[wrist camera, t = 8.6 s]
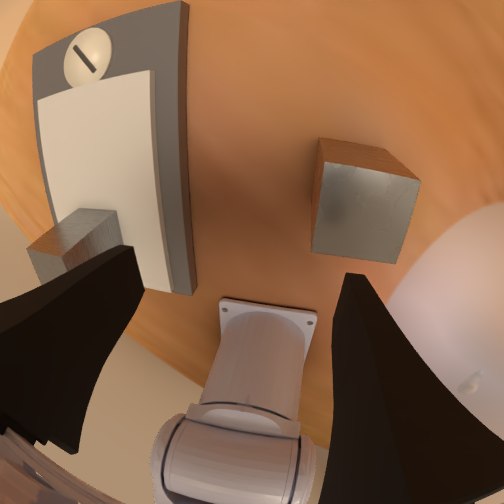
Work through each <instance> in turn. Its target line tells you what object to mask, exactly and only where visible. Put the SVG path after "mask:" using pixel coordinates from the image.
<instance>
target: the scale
mask: <svg viewBox="0 0 504 504" xmlns="http://www.w3.org/2000/svg"><path fill="white" fill-rule="evenodd" d="M188 16H189V5H188V4H186V3H185V2H183V1H175V2H170V3H166V4H161V5H157V6H153V7H149V8H145V9H141V10H138V11H134V12H131V13H127V14H124V15H121V16H118V17H115V18H112V19H109V20H106V21H104V22H101V23H98V24H96V25H93V26H91V27H88V28H86V29H84V30H81V31H79V32H77V33H74V34H72V35H70V36H68V37H66V38H64V39H62V40H60V41H58V42H56V43H54V44H52V45H50V46H48V47H46V48H44V49H42V50H41V51H39V52H37V53H35V54H34V55H33V67H32V83H33V107H34V120H35V130H36V138H37V146H38V152H39V159H40V164H41V170H42V175H43V180H44V185H45V189H46V194H47V198H48V202H49V206H50V210H51V214H52V217H53V221H54V224H55V225H56V224H58V223H59V222H60V221H62V220H63V219H64V218H66V217H67V216H68V215H70V214H71V213H72V212H74V211H75V210H77V209H78V208H90V209H104V210H117V215H118V220H119V225H120V230H121V234H122V239H123V243H124V245H128V246H134V250H135V255H136V259H137V263H138V266H139V270H140V274H141V278H142V281H143V285H144V287H146V288H150V289H155V290H160V291H164V292H169V293H172V292H173V293H178V294H183V295H189V296H193V294H194V292H195V290H196V288H197V281H196V271H195V261H194V251H193V239H192V227H191V214H190V199H189V182H188V160H187V127H186V65H187V35H188Z"/></svg>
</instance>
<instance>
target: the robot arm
mask: <svg viewBox="0 0 504 504" xmlns="http://www.w3.org/2000/svg"><path fill="white" fill-rule="evenodd" d="M144 291H145V289H144V285H143V281H142V278H141V274H140V270H139V266H138V263H137V259H136V255H135V250H134V246H128V245H121V244H120V245H118V246H115V247H113V248H111V249H108V250H106V251H104V252H102V253H100V254H99V255H97V256H95V257H93V258H91V259H89V260H87V261H86V262H84V263H82V264H80V265H78V266H77V267H75V268H73V269H71V270H69V271H68V272H66V273H64V274H62V275H60V276H58V277H56V278H55V279H53V280H51V281H49V282H47V283H45V284H43V285H41V286H39V287H37V288H35V289H33V290H31V291H29V292H27V293H24V294H22V295H20V296H18V297H15V298H12V299H10V300H7V301H5V302H2V303H0V504H78V502H80V503H81V504H124V503H122V502H120V501H118V500H116V499H114V498H112V497H110V496H108V495H106V494H104V493H102V492H101V491H99V490H97V489H95V488H93V487H92V486H90V485H88V484H87V483H85V482H83V481H81V480H80V479H78V478H77V477H75V476H74V475H72V474H71V473H69V472H67V471H66V470H65V469H63V468H62V467H60V466H59V465H57V464H56V463H55V462H53V461H52V460H50V459H49V458H48V457H46V456H45V455H44V454H42V453H41V452H40V451H39V450H37V449H36V448H35V447H34V444H35V442H36V440H37V441H38V442H40V443H41V444H42V445H46V443H47V441H48V440H49V441H50V442H52V443H53V444H55V445H57V446H58V447H60V448H61V449H62V450H64V451H66V452H67V453H69V454H71V455H72V454H76V453H78V450H79V443H80V437H81V431H82V426H83V422H84V418H85V414H86V410H87V407H88V404H89V401H90V398H91V395H92V392H93V389H94V386H95V384H96V382H97V379H98V377H99V374H100V372H101V370H102V367H103V365H104V364H105V362H106V360H107V358H108V356H109V354H110V353H111V351H112V349H113V348H114V346H115V344H116V343H117V341H118V339H119V338H120V336H121V335H122V333H123V331H124V330H125V328H126V327H127V325H128V323H129V322H130V320H131V318H132V317H133V315H134V313H135V311H136V309H137V307H138V305H139V303H140V301H141V298H142V296H143V294H144ZM225 308H227V309H225ZM219 312H220V328H221V342H220V345H219V348H218V350H217V353H216V356H215V359H214V362H213V364H212V367H211V370H210V373H209V376H208V379H207V381H206V384H205V387H204V390H203V393H202V395H201V399H200V401H199V404H198V405H197V404H190V406H189V408H188V411H187V414H182V413H181V414H177V415H175V416H174V417H172V418H171V419H169V420H168V421H167V422H166V423H165V424H164V425H163V426H162V427H161V429H160V431H159V432H158V434H157V436H156V439H155V441H154V444H153V447H152V451H151V456H150V472H151V475H152V479H153V485H154V498H155V501H154V504H307V502H308V499H309V496H310V493H311V489H312V485H313V480H314V473H315V465H316V448H315V444H314V443H313V442H312V441H311V440H310V437H309V436H307V435H300V436H299V432H300V424H301V423H300V422H297V418H298V410H299V402H300V393H301V384H302V374H303V365H304V362H305V359H306V355H307V352H308V349H309V346H310V343H311V339H312V336H313V333H314V329H315V326H316V322H317V313H315V312H312V311H305V310H297V309H290V308H283V307H276V306H269V305H263V304H256V303H250V302H244V301H238V300H232V299H226V298H223V299H221V300H220V302H219ZM309 321H312V322H309ZM331 348H332V369H333V398H334V411H333V425H332V434H331V442H330V448H329V455H328V461H327V467H326V472H325V477H324V482H323V486H322V491H321V495H320V499H319V503H318V504H475V502H476V501H479V500H481V499H483V498H486V497H488V496H490V495H492V494H494V493H496V492H498V491H500V490H502V489H504V441H503V440H502V439H501V438H499V437H498V436H497V435H496V434H494V433H493V432H492V431H490V430H489V429H488V428H487V427H486V426H485V425H483V424H482V423H481V422H480V421H479V420H478V419H477V418H476V417H475V416H474V415H473V414H471V413H470V412H469V411H468V410H467V409H466V408H465V407H464V406H463V405H462V404H461V403H460V402H459V401H458V400H457V398H456V397H454V395H453V394H452V393H451V392H450V391H449V390H448V389H447V388H446V387H445V386H444V385H443V384H442V382H441V381H440V380H439V379H438V378H437V377H436V375H435V374H434V373H433V372H432V371H431V369H430V368H429V367H428V366H427V364H426V363H425V362H424V361H423V359H422V358H421V357H420V356H419V354H418V353H417V352H416V350H415V349H414V348H413V346H412V345H411V344H410V342H409V341H408V339H407V338H406V337H405V335H404V334H403V332H402V331H401V330H400V328H399V327H398V325H397V324H396V322H395V321H394V319H393V318H392V316H391V315H390V314H389V312H388V310H387V309H386V307H385V305H384V304H383V302H382V301H381V299H380V298H379V296H378V295H377V293H376V291H375V290H374V288H373V287H372V285H371V284H370V282H369V281H368V279H367V278H366V276H365V275H363V274H354V273H346V274H345V278H344V281H343V285H342V289H341V293H340V296H339V300H338V303H337V307H336V310H335V314H334V317H333V327H332V346H331ZM35 471H36V472H38V473H39V474H40V475H41V476H42V477H41V476H39V475H37V474H36V472H35ZM43 477H44V478H43ZM502 504H504V503H502Z"/></svg>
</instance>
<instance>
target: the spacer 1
mask: <svg viewBox="0 0 504 504" xmlns="http://www.w3.org/2000/svg"><path fill="white" fill-rule="evenodd" d="M120 244H121V245H124V243H123V239H122V234H121V230H120V225H119V220H118V215H117V210H104V209H90V208H78V209H77V210H75V211H74V212H72V213H71V214H70V215H68V216H67V217H66V218H64V219H63V220H62V221H60V222H59V223H58V224H56V225H55V226H54V227H52V228H51V229H50V230H49V231H47V232H46V233H45V234H43V235H42V236H41V237H40V238H38V239H37V240H36V241H35V242H34V243H32V244H31V245H30V246H29V247H28V248H27V251H28V254H29V256H30V259H31V261H32V264H33V266H34V269H35V271H36V273H37V275H38V278H39V280H40V282H41V284H42V285H43V284H45V283H47V282H49V281H51V280H53V279H55V278H56V277H58V276H60V275H62V274H64V273H66V272H68V271H69V270H71V269H73V268H75V267H77V266H78V265H80V264H82V263H84V262H86V261H87V260H89V259H91V258H93V257H95V256H97V255H99V254H100V253H102V252H104V251H106V250H108V249H111V248H113V247H115V246H118V245H120Z"/></svg>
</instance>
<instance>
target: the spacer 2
mask: <svg viewBox="0 0 504 504" xmlns="http://www.w3.org/2000/svg"><path fill="white" fill-rule="evenodd" d="M420 183H421V180H420V179H418V178H417V177H416V176H415V175H414V174H413V173H412V172H411V171H410V170H409V169H408V168H406V167H405V166H404V165H403V164H402V163H401V162H400V161H398V160H397V159H396V158H395V157H394V156H392V155H391V154H390V153H389V152H388V151H386V150H385V149H381V148H377V147H372V146H367V145H362V144H357V143H351V142H345V141H339V140H333V139H327V138H320V137H319V143H318V152H317V160H316V169H315V177H314V184H313V192H312V199H311V252H313V253H320V254H327V255H334V256H342V257H349V258H356V259H363V260H369V261H376V262H383V263H390V264H396V262H397V259H398V256H399V253H400V250H401V248H402V245H403V242H404V239H405V236H406V232H407V229H408V226H409V223H410V220H411V216H412V213H413V209H414V206H415V202H416V198H417V195H418V191H419V187H420Z"/></svg>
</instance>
